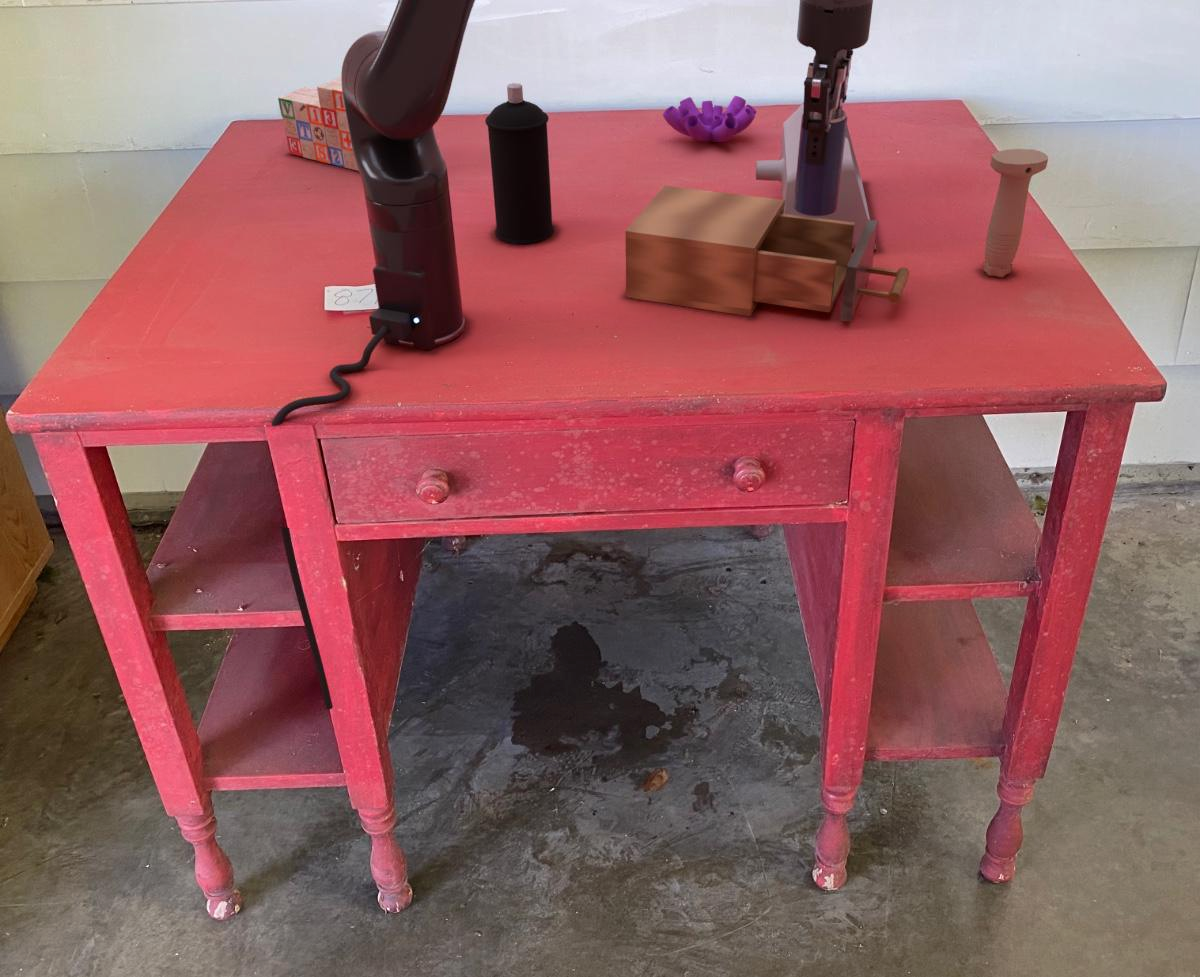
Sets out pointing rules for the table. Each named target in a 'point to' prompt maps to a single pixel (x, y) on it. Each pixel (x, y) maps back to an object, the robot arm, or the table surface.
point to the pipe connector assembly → (710, 119)
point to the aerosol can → (520, 170)
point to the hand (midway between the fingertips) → (820, 154)
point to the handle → (1009, 206)
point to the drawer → (819, 265)
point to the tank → (785, 171)
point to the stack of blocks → (318, 124)
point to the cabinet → (698, 248)
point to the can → (821, 171)
